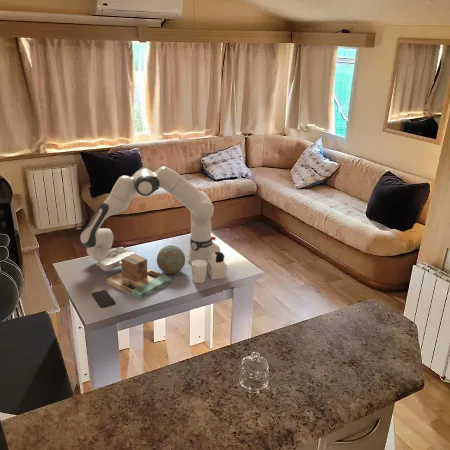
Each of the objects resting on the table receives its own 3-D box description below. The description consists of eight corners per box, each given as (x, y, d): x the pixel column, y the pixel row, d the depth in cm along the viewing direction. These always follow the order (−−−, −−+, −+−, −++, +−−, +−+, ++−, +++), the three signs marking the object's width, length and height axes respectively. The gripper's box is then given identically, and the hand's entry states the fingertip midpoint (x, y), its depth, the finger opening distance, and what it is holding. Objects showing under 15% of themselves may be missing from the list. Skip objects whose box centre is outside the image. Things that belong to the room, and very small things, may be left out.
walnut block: (134, 270, 244) (133, 253, 240) (147, 276, 238) (147, 259, 235) (122, 276, 238) (121, 258, 234) (135, 282, 232) (135, 264, 229)
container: (221, 271, 252) (222, 249, 247) (226, 278, 246) (227, 256, 241) (207, 273, 250) (208, 251, 245) (212, 280, 243) (212, 257, 238)
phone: (105, 289, 229) (116, 303, 218) (105, 290, 229) (116, 304, 218) (90, 293, 225) (101, 307, 214) (90, 294, 226) (101, 308, 214)
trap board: (139, 268, 252) (139, 264, 251) (171, 282, 239) (171, 278, 238) (107, 283, 236) (106, 278, 235) (140, 299, 223) (140, 294, 222)
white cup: (203, 285, 238) (203, 267, 234) (189, 282, 240) (189, 264, 236) (208, 278, 245) (209, 261, 241) (195, 275, 247) (195, 258, 243)
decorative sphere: (171, 281, 240) (171, 255, 234) (151, 272, 248) (150, 247, 242) (190, 271, 251) (191, 246, 245) (170, 263, 259) (170, 238, 254)
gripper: (93, 258, 238) (111, 266, 230) (124, 245, 253) (142, 253, 246) (94, 269, 240) (112, 277, 233) (125, 256, 256) (142, 263, 248)
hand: (128, 264), depth 239 cm, fingers closed
